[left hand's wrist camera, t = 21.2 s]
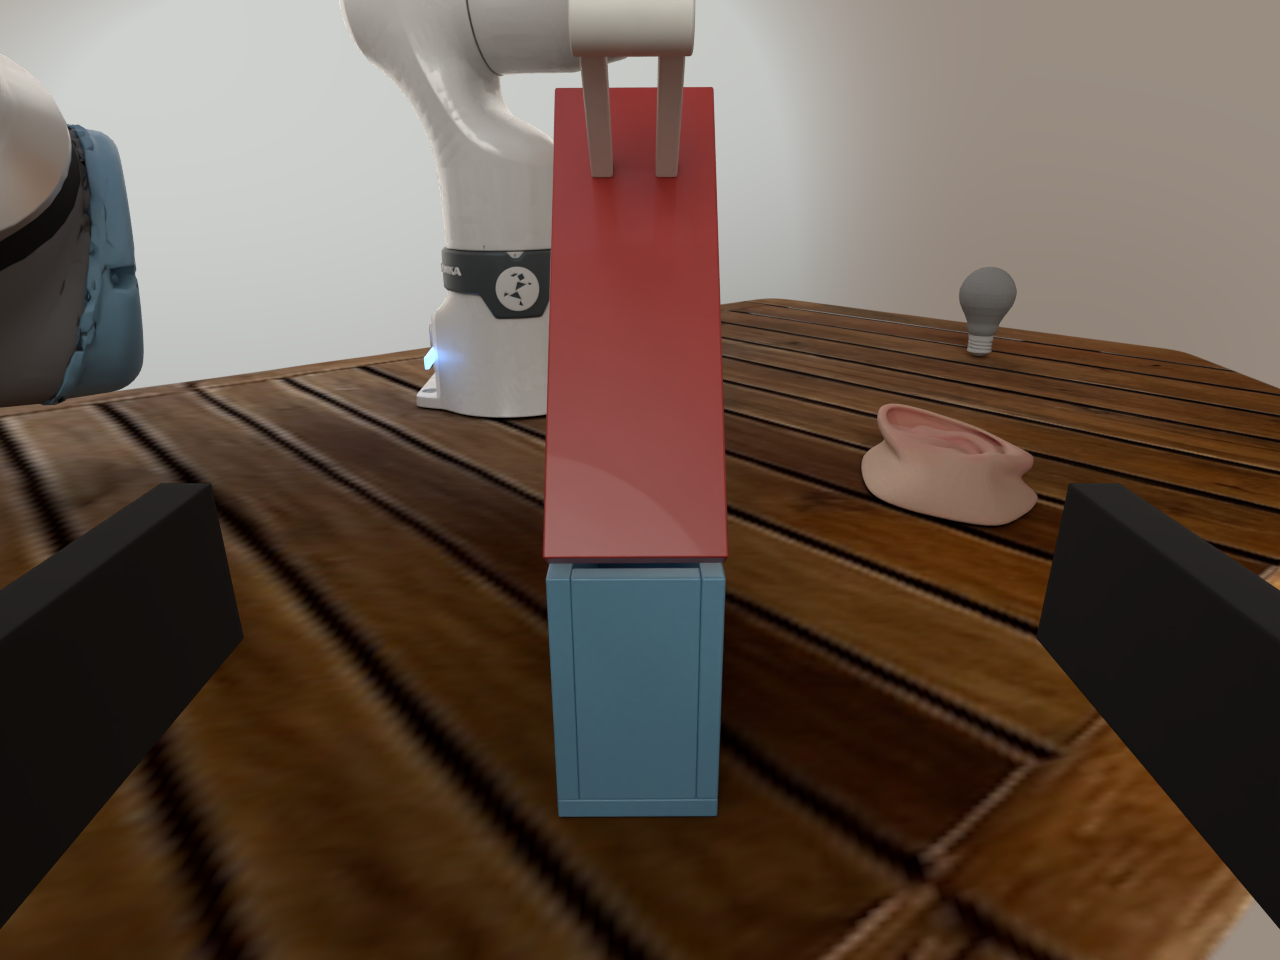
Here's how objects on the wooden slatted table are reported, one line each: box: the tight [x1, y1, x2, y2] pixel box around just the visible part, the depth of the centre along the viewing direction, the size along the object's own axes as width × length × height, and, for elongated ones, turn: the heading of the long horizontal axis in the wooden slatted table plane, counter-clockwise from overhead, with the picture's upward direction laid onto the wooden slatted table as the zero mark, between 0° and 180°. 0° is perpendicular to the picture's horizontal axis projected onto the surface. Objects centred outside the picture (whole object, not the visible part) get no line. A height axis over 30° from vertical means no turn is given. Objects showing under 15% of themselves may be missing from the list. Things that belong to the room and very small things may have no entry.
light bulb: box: [959, 267, 1017, 356], centre depth 92 cm, size 6×6×10 cm
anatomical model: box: [862, 404, 1038, 526], centre depth 54 cm, size 13×4×12 cm
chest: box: [546, 563, 726, 817], centre depth 33 cm, size 15×5×9 cm, turn 0°
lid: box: [543, 0, 728, 564], centre depth 22 cm, size 16×5×8 cm
